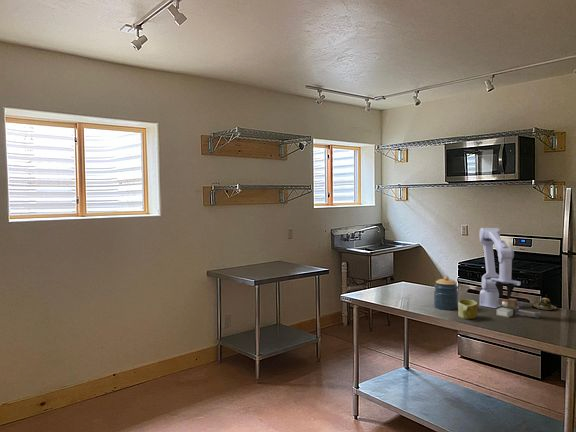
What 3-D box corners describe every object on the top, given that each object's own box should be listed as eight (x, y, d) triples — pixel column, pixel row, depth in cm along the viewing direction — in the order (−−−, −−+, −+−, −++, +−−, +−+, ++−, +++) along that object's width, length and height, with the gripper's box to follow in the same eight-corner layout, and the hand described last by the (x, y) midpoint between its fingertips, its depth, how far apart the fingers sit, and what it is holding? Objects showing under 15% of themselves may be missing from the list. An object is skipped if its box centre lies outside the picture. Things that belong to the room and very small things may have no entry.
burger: (527, 307, 254) (527, 294, 253) (542, 305, 258) (543, 292, 257) (546, 312, 242) (546, 298, 242) (562, 310, 247) (562, 296, 246)
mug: (459, 309, 242) (463, 293, 238) (477, 318, 236) (483, 302, 232) (449, 318, 233) (454, 302, 229) (468, 327, 227) (474, 311, 223)
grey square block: (496, 315, 237) (496, 309, 237) (501, 313, 241) (501, 307, 241) (508, 317, 232) (508, 311, 232) (512, 315, 236) (513, 309, 236)
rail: (501, 311, 243) (501, 307, 243) (505, 310, 247) (505, 305, 246) (537, 318, 230) (537, 313, 230) (541, 316, 233) (541, 311, 233)
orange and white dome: (501, 305, 236) (501, 301, 236) (503, 304, 238) (503, 300, 238) (506, 306, 235) (506, 301, 234) (508, 305, 236) (508, 301, 236)
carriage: (504, 312, 241) (505, 299, 241) (509, 310, 245) (509, 297, 245) (514, 314, 238) (514, 301, 237) (519, 311, 242) (519, 299, 241)
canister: (460, 310, 246) (460, 278, 245) (435, 309, 248) (435, 277, 248) (456, 305, 258) (456, 274, 258) (432, 304, 261) (432, 273, 260)
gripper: (487, 270, 238) (487, 296, 239) (516, 274, 227) (516, 300, 228) (493, 268, 243) (493, 294, 244) (522, 272, 232) (521, 298, 233)
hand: (504, 297), depth 236 cm, fingers open, 3 cm apart
